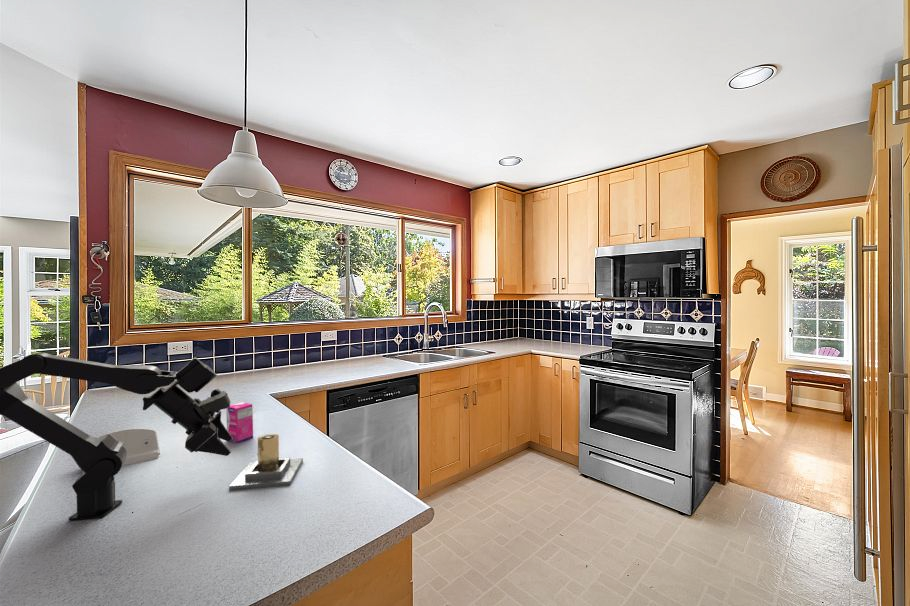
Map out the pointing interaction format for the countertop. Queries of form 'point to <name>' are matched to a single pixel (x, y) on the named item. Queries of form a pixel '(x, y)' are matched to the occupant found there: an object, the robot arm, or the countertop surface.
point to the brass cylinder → (268, 452)
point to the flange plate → (267, 475)
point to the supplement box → (240, 421)
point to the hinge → (137, 444)
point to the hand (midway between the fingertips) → (229, 446)
